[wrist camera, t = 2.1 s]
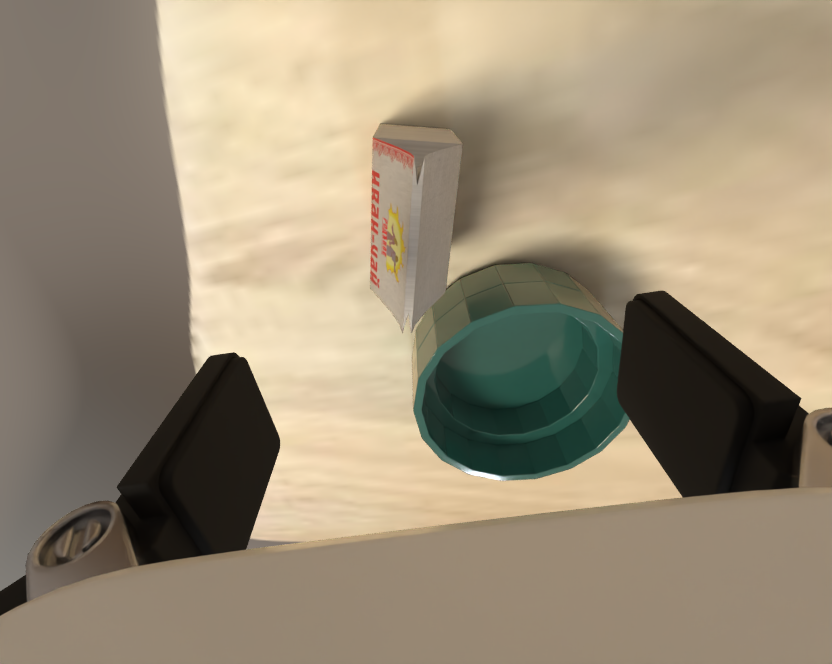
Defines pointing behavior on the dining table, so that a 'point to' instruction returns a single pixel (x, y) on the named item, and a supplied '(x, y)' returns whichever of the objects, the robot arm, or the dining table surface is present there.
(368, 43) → the dining table surface
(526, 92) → the dining table surface
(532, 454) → the teal faceted bowl
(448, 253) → the white juice carton
